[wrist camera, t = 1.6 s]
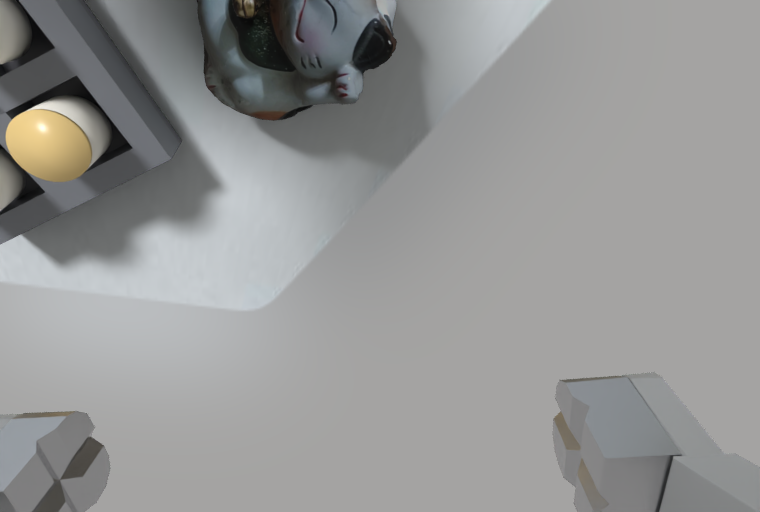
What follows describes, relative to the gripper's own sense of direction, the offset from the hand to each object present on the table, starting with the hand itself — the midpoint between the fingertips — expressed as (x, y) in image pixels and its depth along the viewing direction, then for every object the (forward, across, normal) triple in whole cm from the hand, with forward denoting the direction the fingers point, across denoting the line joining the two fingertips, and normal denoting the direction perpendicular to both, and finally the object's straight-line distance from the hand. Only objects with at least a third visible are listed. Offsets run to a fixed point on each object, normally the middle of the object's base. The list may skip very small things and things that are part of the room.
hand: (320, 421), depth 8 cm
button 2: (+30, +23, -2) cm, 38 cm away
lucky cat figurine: (+37, +6, -9) cm, 39 cm away
